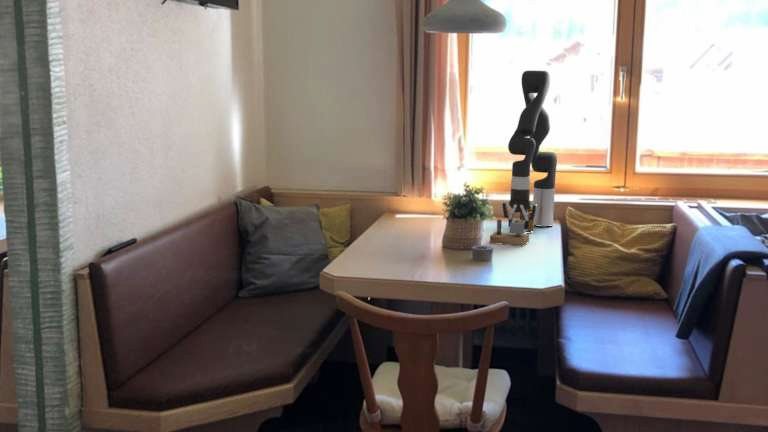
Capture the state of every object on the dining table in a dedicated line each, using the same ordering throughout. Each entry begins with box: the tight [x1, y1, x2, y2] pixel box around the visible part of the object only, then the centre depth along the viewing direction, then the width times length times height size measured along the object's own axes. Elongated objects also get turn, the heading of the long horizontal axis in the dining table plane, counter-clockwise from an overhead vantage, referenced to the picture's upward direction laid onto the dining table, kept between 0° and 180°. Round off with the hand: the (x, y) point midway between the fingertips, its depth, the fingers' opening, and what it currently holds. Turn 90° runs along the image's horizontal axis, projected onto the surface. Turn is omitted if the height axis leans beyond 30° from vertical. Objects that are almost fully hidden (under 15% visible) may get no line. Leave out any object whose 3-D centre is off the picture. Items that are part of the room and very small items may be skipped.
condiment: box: [519, 206, 535, 232], centre depth 345 cm, size 7×8×12 cm
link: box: [508, 218, 528, 234], centre depth 322 cm, size 8×6×4 cm
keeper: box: [489, 218, 530, 246], centre depth 324 cm, size 9×14×9 cm, turn 68°
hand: (518, 228), depth 322 cm, fingers closed on link, 5 cm apart
